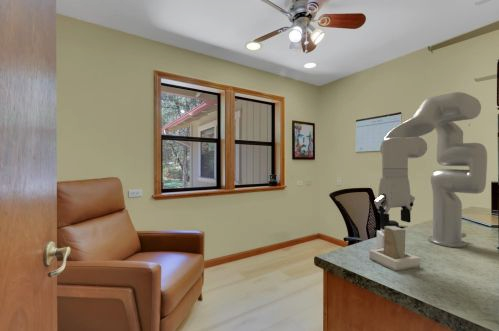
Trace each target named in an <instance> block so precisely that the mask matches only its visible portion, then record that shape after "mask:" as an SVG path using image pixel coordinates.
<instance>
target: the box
mask: <svg viewBox="0 0 499 331" xmlns="http://www.w3.org/2000/svg"><path fill="white" fill-rule="evenodd" d="M405 252H406V229H403V228H401V227H400V226H399V227H396V226H385V228H384V255H386V256H389V257H391V258H393V259H401V258H405Z"/></svg>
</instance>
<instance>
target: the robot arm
mask: <svg viewBox="0 0 499 331" xmlns="http://www.w3.org/2000/svg"><path fill="white" fill-rule="evenodd" d="M481 110H482V105H481V102H480V100H479V99H478V98H476V97H475V96H473V95H471V94H468V93H465V92H462V91H461V92H460V91H457V92H456V91H455V92H449V93H445V94H440V95H434V96H431V97H428V98H426V99H425V100H424V101H423V102H421V104H420V106H419V107H418V108H417V109H416V111H415V113H413V116H412V117H411V118H410V119H409V118H408V119H407V120H406V121H403V122H402V123H400V124H399V125H397V126H394V127H393V128H392V129H391V130H390V131H389V132H388V133H387V134H386V136H384V138H383V140H382V142H381V144H380V147H379V150H380V154H381V165H382V166H381V171H382V172H381V174H382V175H381V177H380V178H379V184H378V195H377V196H378V197H377V198H376V199H375V200H374V205H375V208H376V209H377V212H378V213H379V223H380V225H381V224H382V225H386V226H389V220H390V213H389V211H390V209H394V208H401V209H400V221H401V222H405V223H411V218H412V217H411V211H413V207H414V202H415V199H416V197H415V196H413V195H411V188H410V182H409V181H410V179H409V175H408V174H409V161H408V160H409V159H418V158H421V157H423V156H424V155H425V154H426V153H427V151H428V143H427V141H426V140H425V139H424V138H422V136H425V135H428V134H430V133H432V132H433V131H434V130H435V131H436V134H437V145H436V162H437V164H439V165H441V166H443V167H445V166H446V167H468V169H458V168H457V169H456V168H455V169H453V168H442V169H436V170H434V171H433V172H432V173H431V175H430V184H431V189H432V190H431V191H432V205H433V206H432V235H430V236H428V238H427V240H428V241H430V243H433V244H436V245H440V246H444V247H449V248H465V247H467V242H465V240H462V238H466V237H467V233H466V232H462V224H463V223H462V221H463V220H462V217H463V216H462V215H463V214H462V212H463V211H462V210H463V204H462V201H461V199H460V197H459V196H458V195H457V193H458V194H459V193H463V194H474V195H475V194H482V193H483V192H484V191H485V189H486V185H487V171H488V169H487V168H488V151H487V149H486V146H485V145H484V144H482V143H480V142H465V143H464V131H463V129H462V128H461V127H460V126H459V125H458V124H456V123H455V122H459V121H470V120H474V119H476V118H477V117H479V115H480V114H481Z"/></svg>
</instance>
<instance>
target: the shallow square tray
mask: <svg viewBox="0 0 499 331" xmlns="http://www.w3.org/2000/svg"><path fill="white" fill-rule="evenodd" d="M368 257H369V259H370V260H372V261H374V262H375V263H378V264H380V265H382V266H384V267H387V268H388V269H391V270H393V271H394V272H399V271H404V270H409V269H414V268H419V267H420V264H421V262H420V261H421V260H420V259H421V258H420V257H419V256H416V255H414V254H411V253H409V252H406V251H405V258H401V259H393V258H391V257H389V256H386V255H384V248H382V249H378V248H376V249H370V250H369V256H368Z"/></svg>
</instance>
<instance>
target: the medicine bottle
mask: <svg viewBox="0 0 499 331" xmlns="http://www.w3.org/2000/svg"><path fill="white" fill-rule="evenodd" d="M385 226H386V225H382V224H380V230H378V229H377V230H376V249H382V248H384V228H385ZM389 226H396V227H399V228H400V224H399V222H398V221H396V220H395V219H393V220H392V219H389Z"/></svg>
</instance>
